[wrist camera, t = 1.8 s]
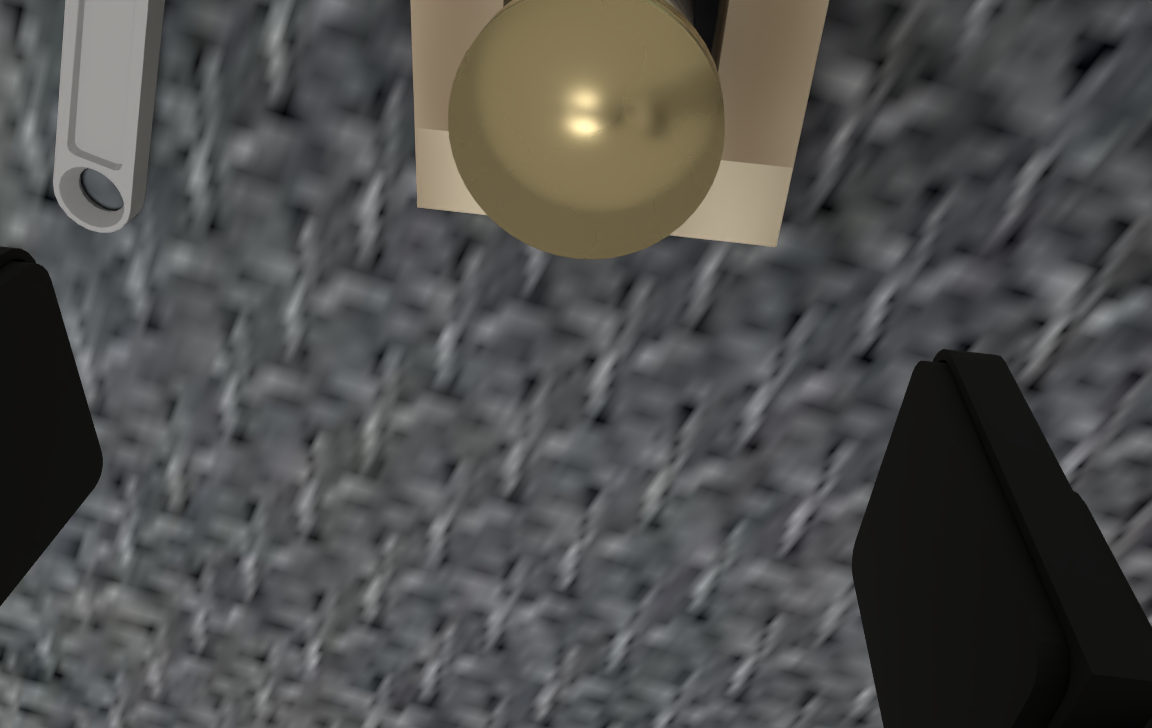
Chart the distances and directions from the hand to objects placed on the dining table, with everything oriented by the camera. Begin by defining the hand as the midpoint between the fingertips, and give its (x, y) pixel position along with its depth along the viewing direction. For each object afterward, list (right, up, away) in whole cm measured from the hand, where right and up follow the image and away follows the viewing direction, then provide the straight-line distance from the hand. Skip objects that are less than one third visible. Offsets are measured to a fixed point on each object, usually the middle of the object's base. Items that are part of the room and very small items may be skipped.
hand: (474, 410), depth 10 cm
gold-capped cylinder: (+2, +11, +16) cm, 20 cm away
